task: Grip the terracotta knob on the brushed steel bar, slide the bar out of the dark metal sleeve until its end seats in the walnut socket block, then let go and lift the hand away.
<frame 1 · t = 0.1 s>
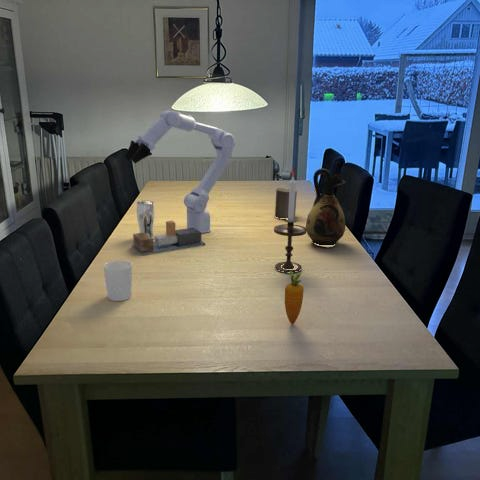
hand: (129, 160, 190), 32 cm above the table, tool tilted 50°, fingers open, 7 cm apart
outer sleeve: (186, 243, 198), on the table
white cup: (119, 297, 148), on the table
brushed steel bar: (175, 231, 194), point 6 cm above the table, slide at 0.0 cm
ceramic jug: (322, 244, 201), on the table
socket block: (143, 250, 189), resting on outer sleeve
candlestick: (288, 269, 173), on the table
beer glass: (146, 239, 203), on the table
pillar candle: (285, 218, 239), on the table
carrot: (292, 324, 134), on the table
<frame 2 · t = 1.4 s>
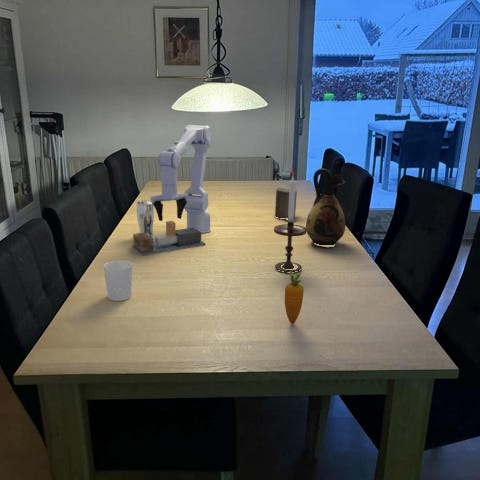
hand: (170, 219, 191), 11 cm above the table, tool pointing down, fingers open, 7 cm apart
nothing on the table moved.
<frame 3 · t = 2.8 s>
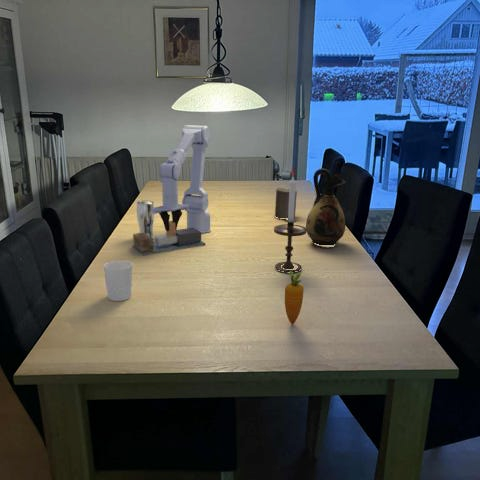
hand: (170, 229, 193), 6 cm above the table, tool pointing down, fingers closed on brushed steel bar, 2 cm apart
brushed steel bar: (175, 231, 194), point 6 cm above the table, slide at 0.0 cm, touching gripper
everything else where it was.
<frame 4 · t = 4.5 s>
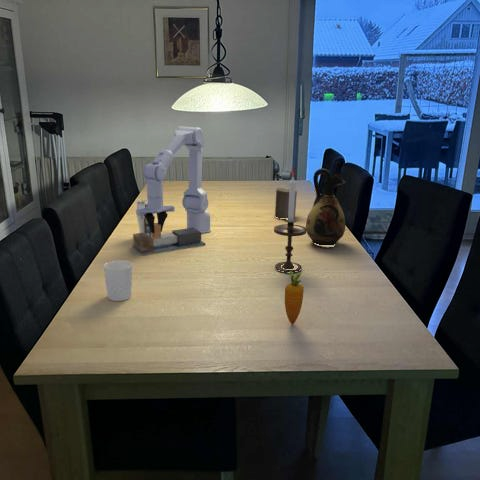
hand: (156, 231, 190), 6 cm above the table, tool pointing down, fingers closed on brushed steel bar, 2 cm apart
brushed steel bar: (161, 233, 191), point 6 cm above the table, slide at 6.0 cm, touching gripper
everything else where it was.
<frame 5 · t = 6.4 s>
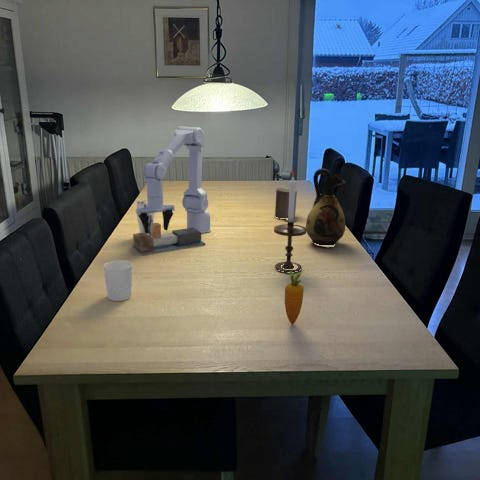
hand: (156, 231, 190), 7 cm above the table, tool pointing down, fingers open, 7 cm apart
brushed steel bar: (161, 233, 191), point 6 cm above the table, slide at 6.0 cm
everything else where it was.
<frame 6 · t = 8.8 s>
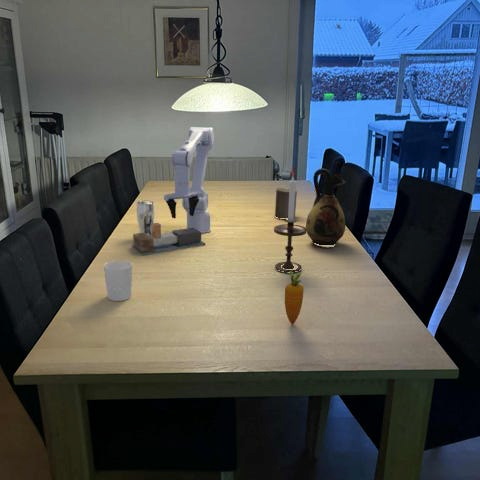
hand: (182, 216, 196), 10 cm above the table, tool pointing down, fingers open, 7 cm apart
nothing on the table moved.
at the end: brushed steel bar slide at 6.0 cm; the gripper is holding nothing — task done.
